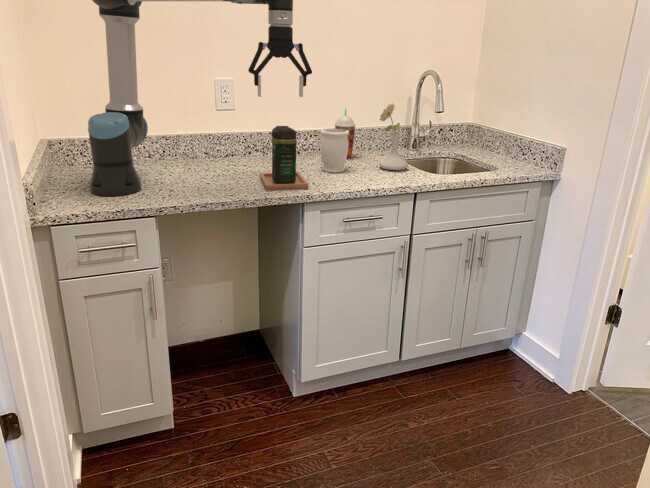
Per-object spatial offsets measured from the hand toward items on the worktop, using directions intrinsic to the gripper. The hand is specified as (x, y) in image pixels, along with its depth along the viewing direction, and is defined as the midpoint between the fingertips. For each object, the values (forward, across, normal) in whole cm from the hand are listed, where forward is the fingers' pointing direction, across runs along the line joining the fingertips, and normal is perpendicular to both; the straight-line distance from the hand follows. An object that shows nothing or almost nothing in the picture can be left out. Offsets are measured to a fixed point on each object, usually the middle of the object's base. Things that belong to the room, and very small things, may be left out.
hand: (280, 96), depth 173 cm
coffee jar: (+28, +1, -1) cm, 28 cm away
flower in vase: (+29, +46, +14) cm, 56 cm away
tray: (+29, +1, -1) cm, 29 cm away
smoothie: (+29, +33, +36) cm, 57 cm away
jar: (+29, +23, +15) cm, 40 cm away
